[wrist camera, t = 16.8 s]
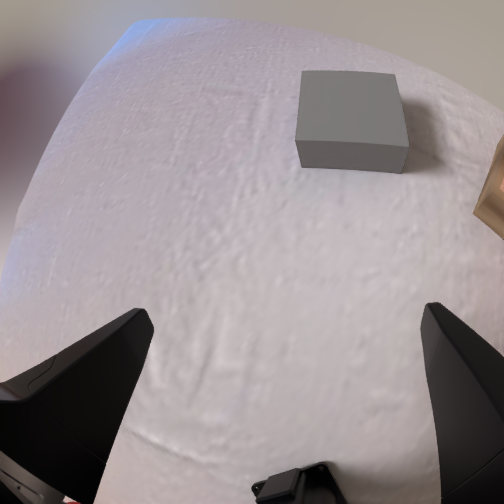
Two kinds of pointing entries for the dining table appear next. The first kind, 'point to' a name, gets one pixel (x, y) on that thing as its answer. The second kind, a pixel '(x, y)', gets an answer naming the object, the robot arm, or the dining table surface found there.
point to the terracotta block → (502, 186)
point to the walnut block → (493, 194)
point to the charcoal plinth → (351, 121)
